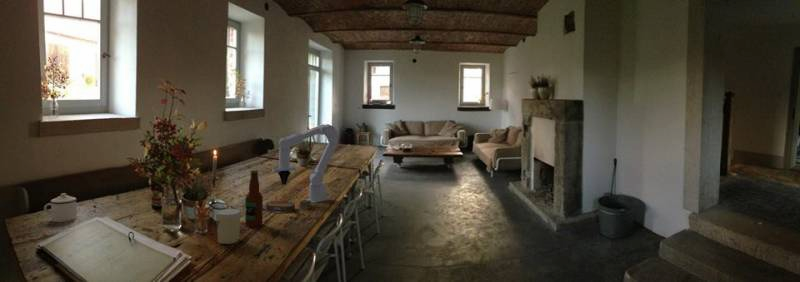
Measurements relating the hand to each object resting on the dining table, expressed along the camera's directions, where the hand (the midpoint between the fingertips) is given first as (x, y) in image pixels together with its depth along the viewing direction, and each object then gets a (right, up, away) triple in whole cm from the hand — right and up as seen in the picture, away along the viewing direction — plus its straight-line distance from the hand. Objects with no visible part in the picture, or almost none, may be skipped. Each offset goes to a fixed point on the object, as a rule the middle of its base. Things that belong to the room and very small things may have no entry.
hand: (283, 184), depth 232 cm
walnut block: (+14, -12, -10) cm, 21 cm away
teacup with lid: (-86, -11, -46) cm, 98 cm away
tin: (+3, -10, -10) cm, 14 cm away
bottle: (-2, -14, -41) cm, 44 cm away
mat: (-1, -11, -14) cm, 18 cm away
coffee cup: (-5, -17, -62) cm, 65 cm away
